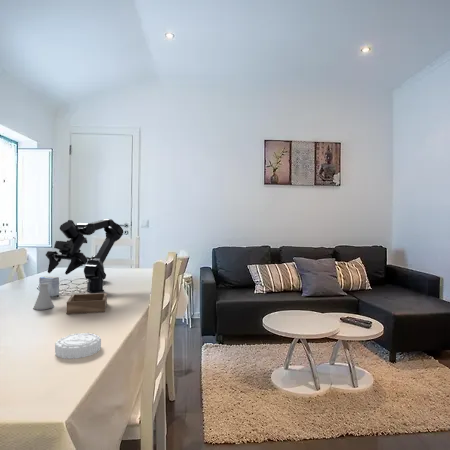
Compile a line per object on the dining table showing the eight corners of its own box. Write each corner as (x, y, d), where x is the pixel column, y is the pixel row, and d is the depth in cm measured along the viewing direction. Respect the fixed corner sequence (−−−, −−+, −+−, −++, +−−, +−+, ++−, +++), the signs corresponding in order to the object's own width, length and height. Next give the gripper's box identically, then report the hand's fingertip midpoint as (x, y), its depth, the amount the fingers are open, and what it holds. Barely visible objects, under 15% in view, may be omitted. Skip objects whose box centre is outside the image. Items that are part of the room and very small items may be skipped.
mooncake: (106, 343, 104) (106, 331, 104) (92, 359, 92) (92, 346, 92) (66, 343, 103) (66, 331, 103) (46, 359, 91) (46, 346, 91)
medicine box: (59, 295, 164) (59, 277, 164) (51, 297, 160) (52, 278, 159) (46, 293, 166) (46, 275, 166) (38, 295, 162) (39, 277, 162)
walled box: (72, 305, 146) (72, 294, 146) (106, 303, 150) (106, 292, 149) (66, 314, 132) (66, 302, 132) (104, 312, 136) (104, 300, 136)
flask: (45, 311, 136) (45, 286, 136) (29, 309, 138) (29, 285, 138) (57, 306, 143) (57, 282, 143) (42, 305, 145) (42, 281, 145)
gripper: (48, 233, 155) (28, 261, 145) (82, 234, 150) (64, 263, 140) (61, 248, 163) (43, 275, 153) (94, 249, 158) (78, 278, 148)
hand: (57, 273), depth 148 cm, fingers open, 9 cm apart
